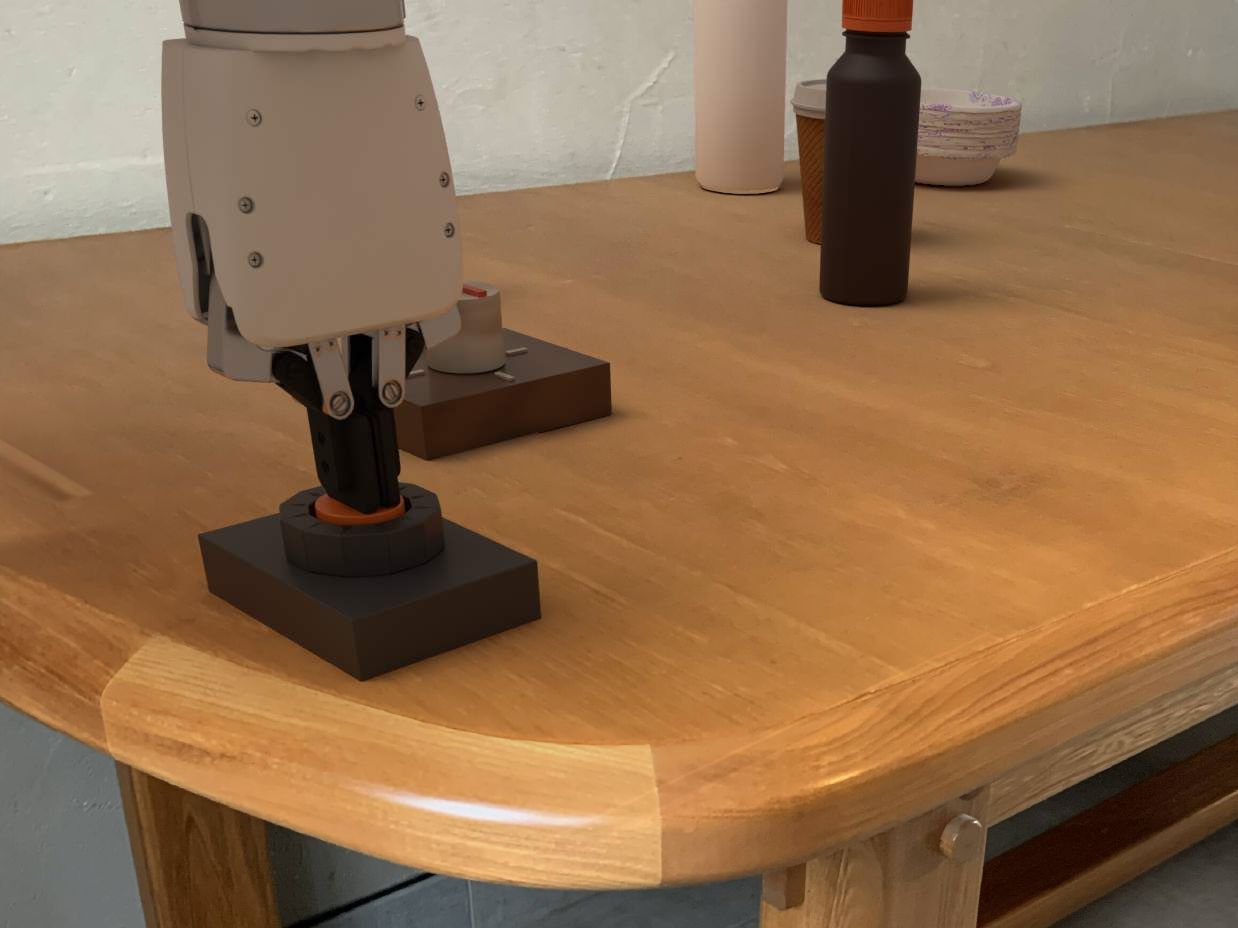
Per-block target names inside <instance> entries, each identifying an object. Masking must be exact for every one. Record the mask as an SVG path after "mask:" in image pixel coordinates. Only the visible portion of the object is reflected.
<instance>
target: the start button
mask: <svg viewBox="0 0 1238 928" xmlns="http://www.w3.org/2000/svg"><path fill="white" fill-rule="evenodd" d="M315 509H316V516H317V519H319V520H321V521H323V522H325V523H333V524H341V525H358V524H372V523H381V522H384V521H388V520H391V519H395V518H398V517H401V516H402V515H403V514H405V506H404V499H403V497H402V496H401V495H400V504H399V505H397V506H393V507H390V508H386V507H384V506H380V507H378V510H377V511H375V512H372V513H368V514H363V513H361V512H359V511H357V510H355V509H353V508H351V507H349V506H347V505H345V504H342V503H340V502H338V501H336V500H334V499H332V498H330V497H329V496H328V494H325V495H323V496H321V497H320V498H319V499H318V500H317V501H316V503H315Z"/></svg>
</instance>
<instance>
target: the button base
mask: <svg viewBox="0 0 1238 928" xmlns="http://www.w3.org/2000/svg"><path fill="white" fill-rule="evenodd" d="M398 483H399V491H400V495H401V496H402V497H403V499H404V506H405V514H403V515H402V516H401V517H398V518H395V519H391V520H388V521H384V522H381V523H372V524H358V525H341V524H333V523H325V522H323V521H321V520H319V519H317V516H316V509H315V503H316V501H317V500H318V499H319V498H320V497H321V496H323V495H325V494H327V493H326V490H325V489H324V487H323V486H322V485H319V486H315V487H311V488H307V489H304V490H301V491H298V492H297V493H294V495H292V496H290V497H289V498H287V499H286V500H284V501H283V502H282V503H280V504H279V506H278V510H279V511H278V512H276V513H273V514H269V515H265V516H262V517H258V518H254V519H250V520H247V521H243V522H239V523H234V524H231V525H228V526H223V527H220V528H216V529H213V530H209V531H204V532H201V533H198V534H197V538H198V545H199V550H200V554H201V559H202V565H203V570H204V573H205V579H206V584H207V589H208V592H209V593H211V594H212V595H214V596H216V597H217V598H219V599H220V600H223V601H224V602H226V603H227V604H228V605H230V606H232V607H234V608H236V609H238V610H239V611H241V612H243V613H244V614H246V615H248V616H249V617H251V618H253V619H254V620H256V621H258V622H260V623H261V624H263V625H264V626H266V627H268V628H270V629H271V630H273V631H274V632H276V633H278V634H279V635H281V636H283V637H284V638H286V639H288V640H289V641H291V642H293V643H295V644H297V645H298V646H300V647H302V649H305V650H306V651H308V652H309V653H312V654H313V655H315V656H317V657H319V659H322V660H323V661H325V662H327V663H328V664H330V665H332V666H333V667H335V668H337V669H339V670H340V671H341V672H344V673H345V674H347V675H349V677H352V678H354V680H355V679H356V680H357V681H359V682H361V683H362V682H365V681H368V680H371V679H374V678H377V677H380V676H382V675H386V674H388V673H391V672H393V671H397V670H400V669H402V668H405V667H407V666H411V665H413V664H417V663H419V662H422V661H425V660H427V659H430V658H433V657H436V656H439V655H441V654H444V653H445V654H446V653H447V652H451V651H453V650H455V649H459V648H461V647H464V646H467V645H471V644H473V643H475V642H478V641H481V640H485V639H487V638H491V637H492V636H495V635H498V634H501V633H503V632H507V631H510V630H513V629H516V628H517V627H521V626H524V625H526V624H529V623H533V622H535V621H538V620H541V619H542V607H541V595H540V578H539V567H538V560H536V559H534V558H532V557H531V556H528V555H526V554H524V553H521V552H520V551H517V550H515V549H513V548H511V547H508V546H507V545H504V544H502V543H500V542H498V541H496V540H493V539H492V538H489V537H487V536H485V535H482V534H480V533H478V532H476V531H474V530H472V529H470V528H467V527H465V526H463V525H461V524H458V523H457V522H454V521H453V520H450V519H448V518H445V517H444V516H443V515H442V507H441V504H440V499H439V496H438V495H437V493H435V492H433V491H432V490H429V489H427V488H424V487H421V486H420V485H418V484H415V483H411V482H401V481H398Z"/></svg>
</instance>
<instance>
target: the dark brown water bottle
mask: <svg viewBox="0 0 1238 928" xmlns="http://www.w3.org/2000/svg"><path fill="white" fill-rule="evenodd" d="M841 2H842V4H841V28H842V29H844V31H842V32H841V35H842V36H843V37H845V45H844V46H845V47H844V52H843V53H842V54H841V55H840V57H839V58H838V59H837V60H836V61H835V62H834V63H833V64H832V66H831V67H830V68H829V70H828V71H827V75H826V79H827V81H826V110H825V138H824V167H823V196H822V225H821V244H820V254H819V283H818V284H819V285H818V287H819V288H818V289H819V293H820V295H821V296H823V297H824V298H825V299H827V300H830V301H832V302H836V303H841V304H845V305H853V306H885V305H891V304H892V305H893V304H896V303H899V302H901V301H903V300H904V299H905V298H906V297H907V296H908V292H909V277H910V276H909V275H910V264H911V263H910V262H911V249H912V248H911V247H912V232H913V231H912V230H913V216H914V204H915V203H914V202H915V201H914V200H915V185H916V183H915V173H916V158H917V143H918V128H919V113H920V98H921V88H922V78H921V77H922V76H921V75H920V73H919V70H917V68H916V67H915V65H914V64H913V63H912V61H911V60H910V58H909V57H908V56H907V53H906V52H907V51H906V50H907V40H910V39H911V35H910V34H909V33H908V32H910V31H912V29H913V27H912V26H913V14H914V12H913V11H914V0H842V1H841Z"/></svg>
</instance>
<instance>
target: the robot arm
mask: <svg viewBox="0 0 1238 928" xmlns="http://www.w3.org/2000/svg"><path fill="white" fill-rule="evenodd" d="M178 3H179V8H180V15H181V19H182V22H183V30H184V36H185V37H184V38H171V39H165V40H163V41H162V42H161V43H162V44H161V46H162V47H161V48H162V49H161V71H160V72H161V75H160V78H161V79H160V88H161V89H160V95H161V97H160V98H161V99H160V100H161V131H162V132H161V133H162V149H163V160H164V162H163V163H164V173H165V174H164V175H165V183H166V184H165V185H166V191H167V202H168V211H169V219H170V220H169V221H170V227H171V233H172V234H171V235H172V242H173V249H174V256H175V262H176V268H177V269H176V270H177V275H178V279H179V285H180V291H181V293H182V298H183V301H184V304H185V308H186V310H187V312H188V314H189V315H190V317H191V318H192V319H193V320H194V321H196V322H197V323H200V324H201V325H204V326H207V344H206V364H207V366H208V368H209V370H210V371H212V373H213V374H215V375H218V376H221V377H223V378H226V379H228V380H230V381H234V382H249V383H262V384H271V383H272V384H275V385H277V387H279V388H280V389H282V390H283V391H284V392H285V393H287V394H288V395H289V396H291V398H292V400H294V402H295V403H297V404H299V405H301V406H304V407H305V408H306V415H307V420H308V421H307V422H308V426H309V433H310V439H311V444H312V451H313V458H314V465H315V470H316V476H317V479H318V481H319V483H320V486H323V487H324V489H325V490H326V493H327V494H328V496H329V497H330V498H332V499H334V500H336V501H338V502H340V503H342V504H345V505H347V506H349V507H351V508H353V509H355V510H357V511H359V512H361V513H363V514H368V513H372V512H375V511H377V510H378V507H380V506H384V507H386V508H390V507H393V506H397V505H399V504H400V491H399V483H398V482H399V476H400V475H401V471H402V466H401V458H400V457H401V456H400V449H398V441H397V433H396V425H395V417H394V409H393V408H394V407H397V406H398V405H400V404H401V403H402V401H403V399H404V397H405V381H406V379H407V377H408V376H409V374H410V372H411V371H412V369H413V367H414V366H415V364H416V362H417V361H418V359H419V357H420V356H421V354H422V352H423V351H424V350H429V349H431V348H433V347H435V346H437V345H439V344H441V343H442V342H444V341H446V340H448V339H450V338H452V337H454V336H456V335H457V334H458V333H459V332H460V330H461V327H462V320H461V316H460V313H459V309H458V306H457V302H458V301H459V299H460V297H461V294H462V290H463V281H464V255H463V254H464V253H463V243H462V241H463V240H462V233H461V224H460V215H459V208H458V201H457V195H456V189H455V183H454V177H453V171H452V170H453V169H452V165H451V159H450V154H449V149H448V145H447V144H448V143H447V139H446V134H445V129H444V125H443V120H442V116H441V112H440V108H439V103H438V99H437V95H436V92H435V88H434V85H433V81H432V77H431V72H430V70H429V67H428V63H427V60H426V56H425V54H424V51H423V48H422V45H421V41H420V39H419V37H417V36H414V35H411V34H406V26H405V19H406V18H407V13H406V6H405V0H178ZM338 338H340V340H341V341H340V345H339V341H338ZM340 346H341V347H340Z"/></svg>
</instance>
